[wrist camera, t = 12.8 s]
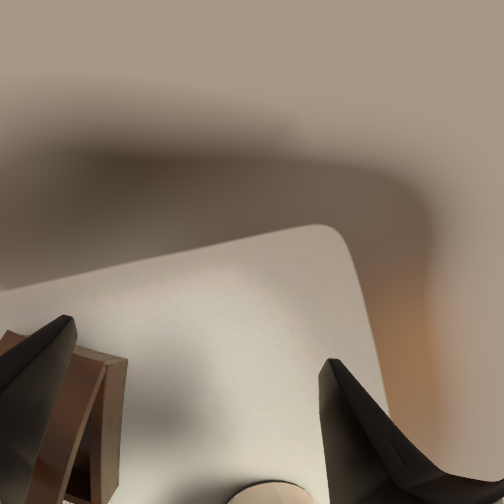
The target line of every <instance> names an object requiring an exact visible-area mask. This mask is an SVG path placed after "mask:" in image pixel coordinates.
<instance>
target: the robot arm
mask: <svg viewBox="0 0 504 504" xmlns="http://www.w3.org/2000/svg"><path fill="white" fill-rule="evenodd" d="M76 341H77V330H76V325H75V321H74V318H73V317H71V316H67V315H61V316H60V317H58V318H57V319H55V320H53V321H52V322H50V323H49V324H47V325H46V326H44V327H43V328H41V329H39V330H38V331H36V332H35V333H33V334H32V335H30V336H29V337H27V338H26V339H24V340H23V341H21V342H20V343H18V344H17V345H15V346H14V347H12V348H11V349H9V350H8V351H6V352H5V353H3V354H2V355H0V504H1V501H3V502H5V503H6V504H25V502H26V498H27V493H28V489H29V485H30V481H31V478H32V474H33V470H34V466H35V463H36V459H37V456H38V452H39V449H40V446H41V443H42V440H43V437H44V434H45V431H46V428H47V425H48V422H49V419H50V416H51V413H52V411H53V408H54V405H55V402H56V400H57V397H58V394H59V392H60V389H61V387H62V384H63V382H64V379H65V377H66V374H67V371H68V367H69V364H70V360H71V357H72V354H73V350H74V347H75V344H76ZM319 415H320V423H321V431H322V438H323V446H324V454H325V462H326V471H327V479H328V488H329V498H330V504H503V501H502V497H504V479H502V480H500V481H496V482H488V481H481V480H476V479H470V478H465V477H460V476H455V475H451V474H448V473H446V472H443V471H442V470H440V469H439V468H438V467H437V466H435V465H434V464H433V463H432V462H431V461H430V460H429V459H428V458H427V457H426V456H425V455H424V454H422V453H421V452H420V451H419V450H418V449H417V448H416V447H415V446H414V445H413V444H412V443H411V442H410V441H409V440H408V439H407V438H406V437H405V435H404V434H403V433H402V432H401V431H400V430H399V429H398V427H397V426H395V425H394V423H393V422H392V421H391V419H390V418H389V417H388V416H387V415H386V414H385V412H384V411H383V410H382V409H381V408H380V407H379V405H378V404H377V403H376V402H375V401H374V400H373V398H372V397H371V396H370V395H369V394H368V393H367V391H366V390H365V389H364V388H363V387H362V386H361V384H360V383H359V382H358V381H357V380H356V379H355V377H354V376H353V375H352V374H351V373H350V372H349V370H348V369H347V368H346V367H345V366H344V365H343V363H342V362H341V361H340V360H339V359H332V358H329V359H327V360H326V362H325V363H324V365H323V367H322V369H321V371H320V373H319Z"/></svg>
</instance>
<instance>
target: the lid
mask: <svg viewBox="0 0 504 504" xmlns="http://www.w3.org/2000/svg"><path fill="white" fill-rule="evenodd" d="M26 338H27V337H25V336H22V335H19V334H17V333H14V332H12V331H9V330H7V332H6V333H5V334H4V336H3V337H2V339H1V340H0V355H2V354H3V353H5V352H6V351H8V350H9V349H11V348H12V347H14V346H15V345H17V344H18V343H20V342H21V341H23V340H24V339H26ZM105 371H106V367H105V363H104V362H102V361H99V360H95V359H92V358H88V357H85V356H81V355H78V354H75V353H73V354H72V357H71V360H70V364H69V367H68V371H67V374H66V377H65V379H64V382H63V384H62V387H61V389H60V392H59V394H58V397H57V400H56V402H55V405H54V408H53V411H52V413H51V416H50V419H49V422H48V425H47V428H46V431H45V434H44V437H43V440H42V443H41V446H40V449H39V452H38V456H37V459H36V463H35V466H34V470H33V474H32V478H31V481H30V485H29V489H28V493H27V498H26V502H25V504H62V503H63V499H64V495H65V491H66V488H67V484H68V480H69V477H70V473H71V470H72V467H73V463H74V460H75V457H76V453H77V450H78V447H79V444H80V441H81V438H82V435H83V432H84V429H85V426H86V423H87V420H88V417H89V414H90V411H91V409H92V406H93V403H94V400H95V398H96V395H97V392H98V389H99V387H100V384H101V382H102V379H103V376H104V374H105ZM1 504H6V503H5V502H3V501H1Z"/></svg>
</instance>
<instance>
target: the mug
mask: <svg viewBox="0 0 504 504" xmlns="http://www.w3.org/2000/svg"><path fill="white" fill-rule="evenodd" d="M226 504H317V503H316V502H315V501H314V500H313V498H312V497H311V496H310V495H309V494H308V493H307V492H306V491H305V490H304V489H303V488H301V487H299V486H298V485H296V484H293V483H289V482H285V481H267V482H260V483H256V484H253V485H250V486H247V487H245V488H244V489H242V490H240V491H239V492H237V493H235V494H234V495H233V496H232V497H231V498H230V499H229V500H228V501H227V503H226Z"/></svg>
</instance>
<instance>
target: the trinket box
mask: <svg viewBox="0 0 504 504" xmlns="http://www.w3.org/2000/svg"><path fill="white" fill-rule="evenodd" d="M22 336H25V337H29V336H30V335H22ZM73 353H75V354H78V355H81V356H85V357H88V358H92V359H95V360H99V361H102V362H104V363H105V367H106V371H105V374H104V376H103V379H102V382H101V384H100V387H99V389H98V392H97V395H96V398H95V400H94V403H93V406H92V409H91V411H90V414H89V417H88V420H87V423H86V426H85V429H84V432H83V435H82V438H81V441H80V444H79V447H78V450H77V453H76V457H75V460H74V463H73V467H72V470H71V473H70V477H69V480H68V484H67V488H66V491H65V495H64V499H63V500H66V501H68V502H71V503H74V504H108V502H109V500H110V499H111V497H112V495H113V493H114V492H115V490H116V488H117V487H118V485H119V457H120V437H121V423H122V411H123V400H124V390H125V381H126V372H127V364H128V359H124V358H120V357H116V356H112V355H108V354H104V353H101V352H97V351H93V350H90V349H86V348H83V347H79V346H76V345H75V347H74V350H73Z"/></svg>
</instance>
